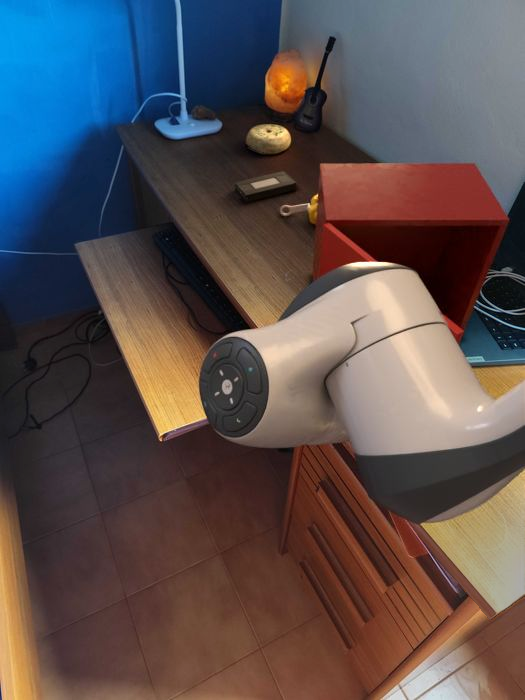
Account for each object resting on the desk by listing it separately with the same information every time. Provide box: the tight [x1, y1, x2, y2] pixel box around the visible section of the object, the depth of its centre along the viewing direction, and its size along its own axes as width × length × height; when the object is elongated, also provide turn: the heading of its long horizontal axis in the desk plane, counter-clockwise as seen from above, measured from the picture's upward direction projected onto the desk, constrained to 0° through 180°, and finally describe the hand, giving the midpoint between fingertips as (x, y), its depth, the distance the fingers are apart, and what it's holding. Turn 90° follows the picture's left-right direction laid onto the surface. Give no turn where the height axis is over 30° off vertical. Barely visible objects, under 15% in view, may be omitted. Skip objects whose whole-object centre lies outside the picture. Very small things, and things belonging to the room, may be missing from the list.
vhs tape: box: [234, 170, 297, 203], centre depth 122 cm, size 8×14×2 cm, turn 115°
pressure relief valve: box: [279, 194, 318, 226], centre depth 110 cm, size 6×12×10 cm
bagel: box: [245, 123, 292, 155], centre depth 139 cm, size 14×13×5 cm
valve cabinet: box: [311, 162, 510, 332], centre depth 81 cm, size 18×26×24 cm
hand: (373, 402), depth 56 cm, fingers open, 8 cm apart
